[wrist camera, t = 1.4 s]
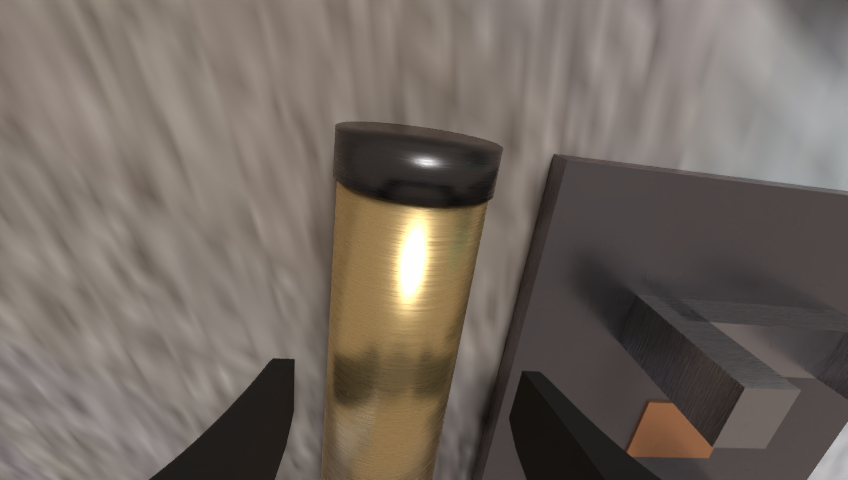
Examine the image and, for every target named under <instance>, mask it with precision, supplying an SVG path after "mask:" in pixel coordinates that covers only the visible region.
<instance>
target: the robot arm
mask: <svg viewBox="0 0 848 480" xmlns="http://www.w3.org/2000/svg"><path fill="white" fill-rule="evenodd" d="M294 362H295V359H277V358H274V359H272V360H271V361H270V362H269V363H268V364H267V365H266V367H265V368H264V369H263V370H262V372H261V373H260V374H259V375H258V376H257V378H256V379H255V380H254V381H253V382H252V383H251V385H250V386H249V387H248V388H247V389H246V390H245V391H244V393H243V394H242V395H241V396H240V397H239V398H238V399H237V400H236V401H235V402H234V403H233V404H232V405H231V407H230V408H229V409H228V410H227V411H226V412H225V413H224V414H223V415H222V416H221V417H220V418H219V419H218V420H217V421H216V422H215V423H214V424H213V425H212V426H211V427H210V428H209V429H207V430H206V431H205V432H204V433H203V434H202V435H201V436H200V437H199V438H198V439H197V440H196V441H195V442H194V443H193V444H191V445H190V446H189V447H188V448H187V449H186V450H185V451H184V452H182V453H181V454H180V455H179V456H178V457H176V458H175V459H174V460H173V461H172V462H171V463H169V464H168V465H167V466H166V467H165V468H163V469H162V470H161V471H159V472H158V473H157V474H156V475H154V476H153V477H152V478H151V479H149V480H275V477H276V474H277V471H278V468H279V465H280V462H281V459H282V456H283V453H284V450H285V447H286V444H287V439H288V435H289V431H290V426H291V421H292V417H293V412H294ZM509 421H510V426H511V431H512V435H513V440H514V444H515V448H516V451H517V454H518V457H519V460H520V463H521V466H522V469H523V471H524V474H525V477H526V480H661V479H660V478H659V477H657V476H656V475H655V474H653V473H652V472H651V471H649V470H648V469H647V468H646V467H644V466H643V465H642V464H640V463H639V462H638V461H637V460H635V459H634V458H633V457H631V456H630V455H629V454H628V453H627V452H625V451H624V450H623V449H622V448H621V447H619V446H618V445H617V444H616V443H615V442H614V441H613V440H611V439H610V438H609V437H608V436H607V435H606V434H605V433H603V432H602V431H601V430H600V429H599V428H598V427H597V426H596V425H595V424H594V423H593V422H592V421H590V420H589V419H588V418H587V417H586V416H585V415H584V414H583V413H582V412H581V411H580V410H579V409H578V408H577V407H576V406H575V405H574V404H573V403H572V402H571V401H570V400H569V399H568V398H567V397H566V396H565V395H564V394H563V393H562V392H561V391H560V390H559V389H558V388H557V387H556V386H555V385H554V384H553V383H552V382H551V381H550V380H549V379H548V378H546V377H545V376H544V375H543V374H542V373H541V372H539V371H522V373H521V377H520V380H519V384H518V388H517V391H516V395H515V398H514V402H513V405H512V409H511V412H510V416H509Z"/></svg>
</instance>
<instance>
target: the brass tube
mask: <svg viewBox="0 0 848 480" xmlns="http://www.w3.org/2000/svg"><path fill="white" fill-rule="evenodd" d="M502 151H503V147H502V146H500V145H498V144H496V143H493V142H491V141H488V140H484V139H481V138H477V137H473V136H468V135H464V134H459V133H454V132H449V131H443V130H437V129H431V128H424V127H417V126H409V125H400V124H390V123H378V122H342V123H338V124H336V126H335V146H334V166H333V176H334V178H335V179H336V181H337V187H336V206H335V224H334V243H333V261H332V280H331V299H330V317H329V336H328V354H327V373H326V391H325V410H324V429H323V447H322V466H321V480H432V478H433V473H434V468H435V463H436V458H437V453H438V448H439V443H440V438H441V433H442V428H443V423H444V418H445V413H446V408H447V403H448V398H449V393H450V388H451V383H452V378H453V373H454V368H455V364H456V359H457V354H458V349H459V344H460V339H461V334H462V329H463V324H464V319H465V314H466V309H467V304H468V299H469V294H470V289H471V284H472V279H473V274H474V269H475V264H476V259H477V254H478V250H479V245H480V240H481V235H482V230H483V225H484V220H485V215H486V210H487V205H488V201H489V200H491V199H492V198H493V195H494V190H495V185H496V180H497V175H498V171H499V166H500V161H501V156H502Z"/></svg>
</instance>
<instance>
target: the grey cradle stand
mask: <svg viewBox="0 0 848 480" xmlns="http://www.w3.org/2000/svg"><path fill="white" fill-rule="evenodd" d="M522 371H539V372H541V373H542V374H543V375H544V376H545V377H546V378H548V379H549V380H550V381H551V382H552V383H553V384H554V385H555V386H556V387H557V388H558V389H559V390H560V391H561V392H562V393H563V394H564V395H565V396H566V397H567V398H568V399H569V400H570V401H571V402H572V403H573V404H574V405H575V406H576V407H577V408H578V409H579V410H580V411H581V412H582V413H583V414H584V415H585V416H586V417H587V418H588V419H589V420H590V421H592V422H593V423H594V424H595V425H596V426H597V427H598V428H599V429H600V430H601V431H602V432H603V433H605V434H606V435H607V436H608V437H609V438H610V439H611V440H613V441H614V442H615V443H616V444H617V445H618V446H619V447H621V448H622V449H623V450H624V451H625V452H627V453H628V454H629V455H630V456H631V457H633V458H634V459H635V460H637V461H638V462H639V463H640V464H642V465H643V466H644V467H646V468H647V469H648V470H649V471H651V472H652V473H653V474H655V475H656V476H657V477H659V478H660V479H661V480H807V479H808V477H809V476H810V475H811V473H812V472H813V470H814V469H815V467H816V466H817V465H818V463H819V462H820V460H821V459H822V457H823V456H824V455H825V453H826V452H827V450H828V449H829V447H830V446H831V445H832V443H833V442H834V440H835V439H836V437H837V436H838V435H839V433H840V432H841V430H842V429H843V427H844V426H845V425H846V423H847V422H848V191H841V190H833V189H825V188H817V187H809V186H801V185H793V184H786V183H778V182H770V181H762V180H754V179H746V178H738V177H730V176H723V175H715V174H707V173H699V172H691V171H683V170H675V169H667V168H659V167H652V166H644V165H636V164H628V163H620V162H612V161H604V160H596V159H588V158H581V157H573V156H565V155H557V154H554V157H553V161H552V165H551V169H550V173H549V177H548V181H547V185H546V189H545V192H544V196H543V200H542V204H541V208H540V212H539V216H538V220H537V224H536V228H535V232H534V236H533V240H532V244H531V248H530V251H529V255H528V259H527V263H526V267H525V271H524V275H523V279H522V283H521V287H520V291H519V295H518V299H517V303H516V307H515V310H514V314H513V318H512V322H511V326H510V330H509V334H508V338H507V342H506V346H505V350H504V354H503V358H502V362H501V366H500V370H499V373H498V377H497V381H496V385H495V389H494V393H493V397H492V401H491V405H490V409H489V413H488V417H487V421H486V425H485V429H484V432H483V436H482V440H481V444H480V448H479V452H478V456H477V460H476V464H475V468H474V472H473V476H472V480H526V477H525V474H524V471H523V469H522V466H521V463H520V460H519V457H518V454H517V451H516V448H515V444H514V440H513V435H512V431H511V426H510V421H509V416H510V412H511V409H512V405H513V402H514V398H515V395H516V391H517V388H518V384H519V380H520V377H521V373H522Z"/></svg>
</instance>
